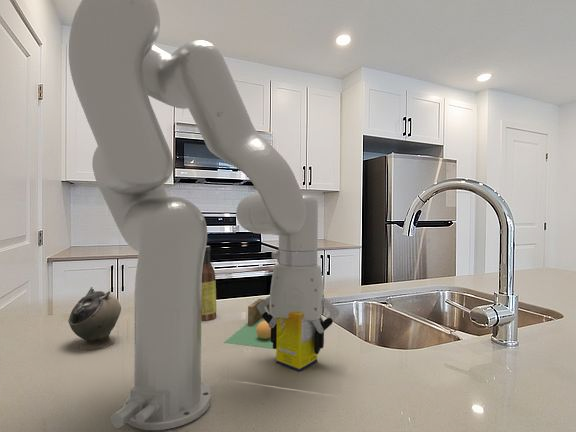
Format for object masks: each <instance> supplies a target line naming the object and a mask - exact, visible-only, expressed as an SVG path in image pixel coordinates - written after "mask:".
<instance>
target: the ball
mask: <svg viewBox="0 0 576 432" xmlns="http://www.w3.org/2000/svg"><path fill="white" fill-rule="evenodd" d="M256 332H257V335H258V336H259V337H260V338H261V339H268V338H270V337H271V328H270V327H269V324H268V323H267V322H266V321H262V322H260V323H259V324H258V325H257V328H256Z"/></svg>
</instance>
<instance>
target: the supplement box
mask: <svg viewBox="0 0 576 432" xmlns="http://www.w3.org/2000/svg"><path fill="white" fill-rule="evenodd" d="M315 332H316V327H315V326H314V324H313V322H312V321H305V320H304V314H303V313H297V312H290V313H289V316H288V318H287V319H281V318H277V337H276V340H277V342H276V344H277V345H276V349H275V350H276V355H275V356H276V360H275V361H276V362H275V363H276V364H278V365H279V366H280V365H281V366H283V367H285V368H288V369H291V370H294V371H297V372H300V373H301V372H302V371H304V370H305V369H308V368H309V367H312V366H313V365H314V364H316V363H318V354H315V353H314V342H315Z"/></svg>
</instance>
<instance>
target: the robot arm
mask: <svg viewBox="0 0 576 432" xmlns="http://www.w3.org/2000/svg"><path fill="white" fill-rule="evenodd" d="M160 28H161V17H160V12H159V8H158V5H157V3H156V1H155V0H81V1H80V3H79V5H78V7H77V9H76V11H75V13H74V16H73V19H72V22H71V26H70V30H69V39H68V64H69V71H70V75H71V79H72V83H73V86H74V90H75V92H76V95H77V97H78V101H79V103H80V105H81V108H82V110H83V112H84V115H85V118H86V121H87V123H88V125H89V127H90V130H91V132H92V134H93V137H94V140H95V142H96V145H97V146H96V148H95V150H94V152H93V156H92V163H91V164H92V171H93V176H94V178H95V181H96V183H97V186H98V189H99V190H100V193H101V195H102V197H103V199H104V201H105V203H106V206H107V207H108V210H109V212H110V214H111V215H112V218H113V220H114V222H115V224H116V227H117V228H118V230H119V232H120V234H121V236H122V238H123V239H124V241H125V242H126V243H127V245H128V246H129V247H130V248H132V249H133V250H134V251H137V252H138V255H137V256H138V257H137V265H136V271H135V278H134V280H135V281H134V370H133V371H134V373H133V375H134V380H133V381H134V386H133V387H132V388H130V394H129V396H128V397H127V398H126V399H125V401H124V402H123V405H122V407H120V408H119V409H118V410H116V411H115V412H114V413H113V414H111V416H110V422H111V425H112V426H113V427H114V428H116V429H120V428H122V427H123V426H124V425H126V424H128V425H129V426H131V427H133V428H135V429H140V430H145V431H163V430H165V431H166V430H169V429H170V430H171V429H174V428H178V427H181V426H185V425H187V424H189V423H191V422H193V421H195V420H196V419H198V418H200V417H201V416H202V415H204V414H205V412H206V411H207V410H208V409H209V408H210V405H211V402H212V392H211V390H210V387H209V386H207V384H205V383H204V382H202V321H201V308H202V302H201V290H202V269H203V261H204V255H205V250H206V246H207V243H208V226H207V223H206V218H205V216H204V215H203V213H202V211H201V210H200V209H199V207H197V206H196V205H195V204H194V203H192V202H191V201H189V200H187V199H185V198H182V197H177V196H169V195H168V194H167V192H166V190H165V189H166V188H165V187H164V185H165V184H166V183H167V182H168V181H169V180H170V178H171V177H172V174H173V170H174V158H173V155H172V154H173V153H172V152H171V149H170V147H169V144H168V143H167V140H166V137H165V135H164V133H163V131H162V127H161V125H160V123H159V121H158V118H157V116H156V113H155V111H154V109H153V106H152V103H151V101H150V98H149V97H151V98H152V99H154V100H156V101H158V102H161V103H163V104H165V105H168V106H170V107H174V108H177V109H183V110H185V109H188V111H189V113H190V115H191V117H192V118H193V121H194V123H195V124H196V127H197V128H198V131H199V133H200V135H201V138H202V139H203V141H204V143H205V146H206V148H207V150H208V151H209V152H210V153H212V154H213V155H214V156H216V157H217V158H219V159H221V160H222V161H224V162H226V163H228V164H231V165H232V166H234V167H235V168H236V169H238V170H239V171H241V172H242V173H243V174H244V175H245V176H246V177H247V178H248V179H249V180H250V181H251V183H252V184H253V185H254V187H255V189H256V191H257V193H251V194H249V195H246V196H245V197H244V198H242V199H241V200H240V202H238V205H237V207H236V212H235V213H236V214H235V216H236V219H237V222H238V224H239V225H240V227H241V228H243V229H244V230H246V231H248V232H250V233H253V234H260V235H273V236H278V249H277V250H275V251H272V252H271V259H274V260H277V263H278V264H275V265H274V266H273V269H272V270H273V271H272V275H271V276H272V277H271V283H270V292H269V296H267V297H266V298H264V299H265V300H263V301H262V302H260V303H259V304H258V305H257V308H258V310H259V312H260V313H261V314H262V317H263V318H264V320H265V321H266V322H267V323H268V324H269V327H270V328H271V342H272V343H273V349H272V350H276V345H277V344H276V342H277V340H276V337H277V318H281V319H287V318H288V316H289V313H290V312H297V313H303V314H304V320H305V321H312V322H313V324H314V326H315V327H316V332H315V342H314V353H315V354H317V355H319V353H320V352H321V349H324V345H325V331H326V330H327V329H328V328H329V327H331V326H332V324H333V323H334V321H335V320H336V319H337V318H338V317H339V315H340V314H341V310H340V309H339V308H338V307H337V306H335V305H334V304H333V303H332V302H331V301H329V300H328V299H327V298H326V297H325V292H324V281H323V279H324V278H323V273H322V267H321V266H320V265H318V240H319V239H318V238H319V237H318V236H319V235H318V233H319V232H318V231H319V227H318V226H319V224H318V223H319V222H318V221H319V219H318V218H319V214H318V213H319V204H318V199H317V197H315V196H314V195H308V194H303V193H302V190H301V187H300V185H299V183H298V181H297V179H296V176H295V174H294V172H293V170H292V168H291V167H290V165H289V163H288V162H287V161H286V159H285V158H284V157H283V156H282V155H281V153H279V151H277V150H276V148H275V147H274V146H273V145H271V144H270V143H271V142H269V141H268V140H267V139H266V138H265V137H263V136H262V135H261V134H260V133H259V132H258V131H257V129H256V128H255V126H254V124H253V122H252V120H251V117H250V115H249V112H248V111H247V108H246V106H245V103H244V102H243V99H242V97H241V95H240V93H239V90H238V87H237V85H236V82H235V80H234V79H233V76H232V74H231V72H230V69H229V67H228V64H227V62H226V61H225V58H224V57H223V54H222V53H221V51H220V50H219V49H218V47H216V45H214V44H213V43H212V42H210V41H207V40H204V39H196V40H191V41H188V42H186V43H184V44H183V45H181V46H179V47H178V48H177V49H176V50H174V51H173V53H172V54H171V53H169V52H167V51H165V50H163V49H161V48H159V47H158V46H156V42H157V41H158V37H159V35H160V31H161V30H160ZM268 304H269V311H270V312H269V311H268V310H267V305H268ZM325 310H327V311H328V312H329V316H328V317H327V318H326V319H323V317H322V314H323V313H324V311H325Z"/></svg>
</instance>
